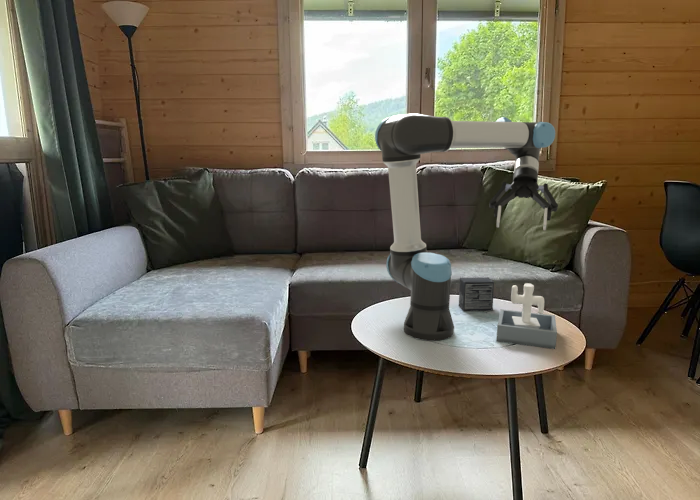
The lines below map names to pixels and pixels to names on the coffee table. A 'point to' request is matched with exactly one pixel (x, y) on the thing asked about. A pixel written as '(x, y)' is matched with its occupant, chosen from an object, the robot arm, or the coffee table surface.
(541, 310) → the figurine
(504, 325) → the tray
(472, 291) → the small box
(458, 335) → the coffee table surface
